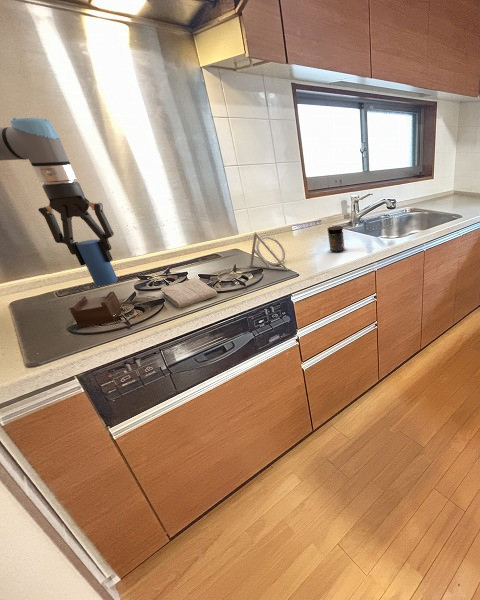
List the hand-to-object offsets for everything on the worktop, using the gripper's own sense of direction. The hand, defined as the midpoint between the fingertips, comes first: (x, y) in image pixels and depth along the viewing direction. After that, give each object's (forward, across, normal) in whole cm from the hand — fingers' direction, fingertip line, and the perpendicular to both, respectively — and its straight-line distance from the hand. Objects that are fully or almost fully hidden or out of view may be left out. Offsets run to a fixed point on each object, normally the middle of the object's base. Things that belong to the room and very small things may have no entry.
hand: (97, 262), depth 99 cm
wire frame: (+14, +50, +11) cm, 53 cm away
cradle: (+13, 0, -13) cm, 18 cm away
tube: (0, 0, 0) cm, 0 cm away
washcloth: (+13, +22, -7) cm, 27 cm away
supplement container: (+14, +78, +18) cm, 82 cm away
